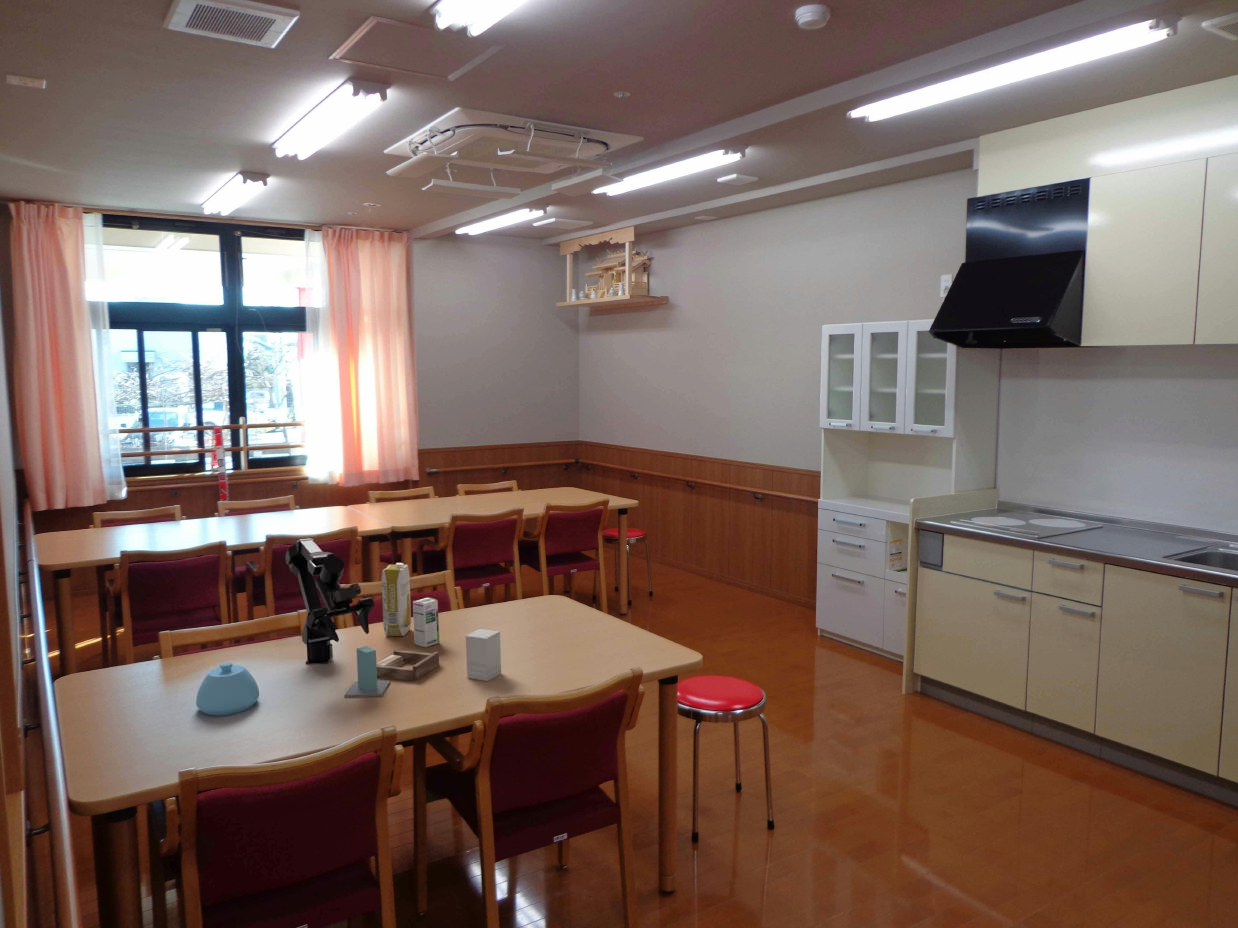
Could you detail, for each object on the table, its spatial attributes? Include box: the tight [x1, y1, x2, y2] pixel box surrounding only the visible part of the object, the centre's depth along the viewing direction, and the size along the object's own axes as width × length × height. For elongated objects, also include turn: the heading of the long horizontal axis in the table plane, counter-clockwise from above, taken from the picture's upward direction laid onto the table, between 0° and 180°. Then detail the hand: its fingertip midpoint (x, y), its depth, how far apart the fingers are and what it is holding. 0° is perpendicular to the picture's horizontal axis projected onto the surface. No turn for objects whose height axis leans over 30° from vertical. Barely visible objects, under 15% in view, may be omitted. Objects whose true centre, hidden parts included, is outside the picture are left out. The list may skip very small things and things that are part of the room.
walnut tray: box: [376, 649, 440, 681], centre depth 243 cm, size 16×14×4 cm
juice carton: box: [381, 562, 412, 637], centre depth 277 cm, size 9×8×24 cm
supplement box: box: [465, 628, 502, 682], centre depth 237 cm, size 7×7×13 cm
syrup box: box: [412, 597, 440, 648], centre depth 266 cm, size 6×6×14 cm
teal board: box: [356, 645, 378, 692], centre depth 227 cm, size 5×3×11 cm, turn 47°
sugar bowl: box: [195, 662, 260, 717], centre depth 216 cm, size 15×15×12 cm
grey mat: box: [343, 680, 391, 698], centre depth 227 cm, size 10×10×1 cm
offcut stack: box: [376, 655, 405, 667], centre depth 244 cm, size 4×10×3 cm, turn 164°
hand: (353, 637), depth 230 cm, fingers open, 9 cm apart
